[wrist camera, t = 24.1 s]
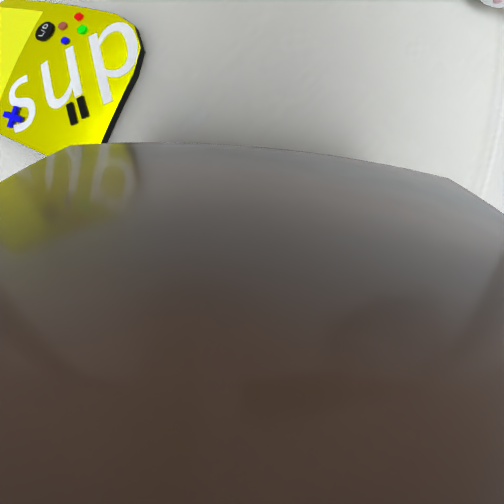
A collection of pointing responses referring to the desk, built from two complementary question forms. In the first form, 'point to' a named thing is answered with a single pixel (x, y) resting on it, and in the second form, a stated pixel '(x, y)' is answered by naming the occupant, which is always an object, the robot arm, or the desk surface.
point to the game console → (64, 73)
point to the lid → (247, 330)
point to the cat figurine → (494, 3)
